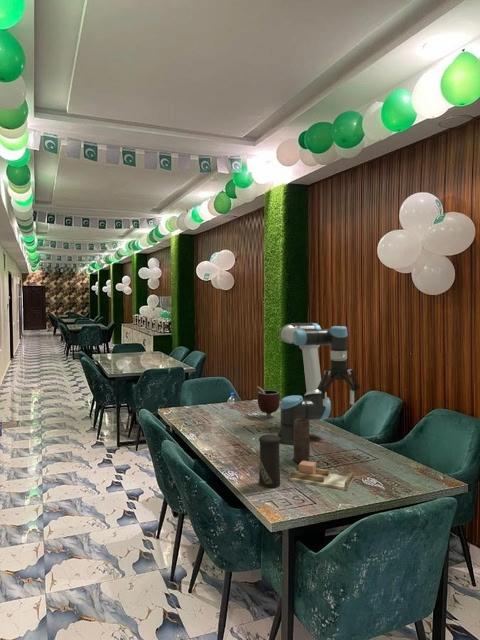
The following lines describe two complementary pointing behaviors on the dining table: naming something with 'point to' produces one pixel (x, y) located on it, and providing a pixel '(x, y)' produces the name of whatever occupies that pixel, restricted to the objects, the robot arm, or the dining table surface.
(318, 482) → the chute
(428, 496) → the dining table surface
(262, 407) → the mate gourd
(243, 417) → the dining table surface
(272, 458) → the container
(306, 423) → the candle
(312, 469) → the block
